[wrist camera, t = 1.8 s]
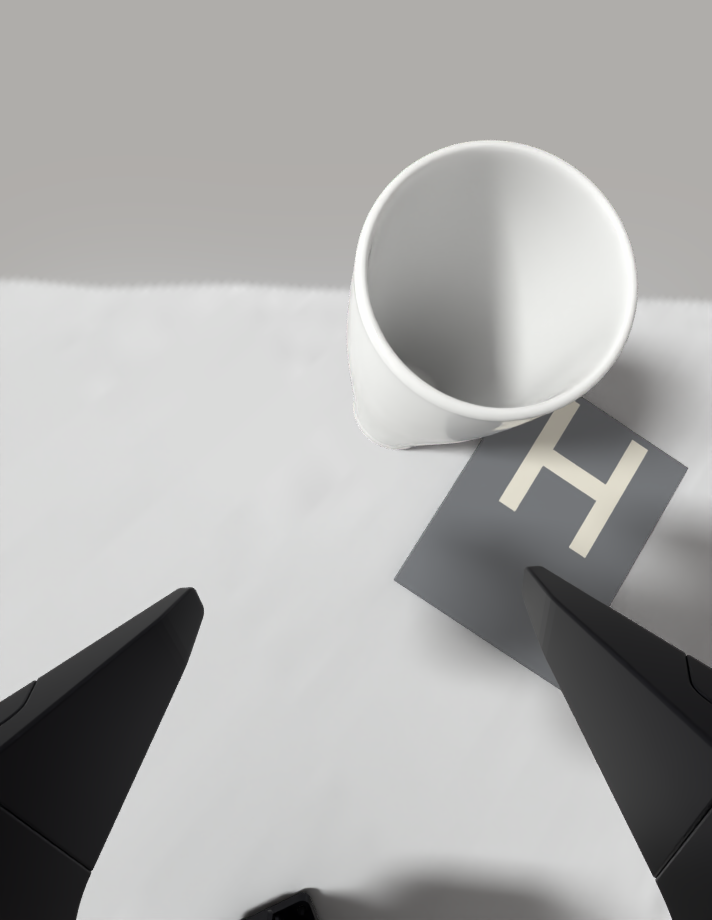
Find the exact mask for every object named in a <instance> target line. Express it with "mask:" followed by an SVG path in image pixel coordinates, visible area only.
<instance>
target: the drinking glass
mask: <svg viewBox="0 0 712 920" xmlns="http://www.w3.org/2000/svg"><path fill="white" fill-rule="evenodd" d="M637 292H638V278H637V268H636V261H635V257H634V253H633V249H632V245H631V242H630V239H629V237H628V234H627V231H626V229H625V227H624V225H623V223H622V221H621V219H620V217H619V215H618V214H617V212H616V210H615V209H614V207H613V206H612V204H611V203H610V202H609V200H608V199H607V198H606V196H605V195H604V194H603V193H602V192H601V190H600V189H599V188H598V187H597V186H596V185H595V184H594V183H593V182H592V181H591V180H590V179H589V178H588V177H586V176H585V175H584V174H583V173H582V172H580V171H579V170H578V169H576V168H575V167H573V166H572V165H571V164H569V163H567V162H566V161H564V160H562V159H560V158H559V157H557V156H555V155H553V154H551V153H548V152H546V151H544V150H541V149H538V148H535V147H533V146H529V145H525V144H521V143H517V142H510V141H502V140H477V141H470V142H463V143H459V144H455V145H451V146H447V147H445V148H442V149H439V150H436V151H434V152H432V153H430V154H428V155H426V156H424V157H422V158H421V159H419V160H417V161H416V162H414V163H412V164H411V165H410V166H408V167H407V168H406V169H404V170H403V171H402V172H401V173H400V174H399V175H398V176H397V177H395V178H394V179H393V180H392V181H391V183H390V184H389V185H388V186H387V187H386V188H385V189H384V191H383V192H382V193H381V195H380V196H379V198H378V199H377V200H376V202H375V203H374V205H373V207H372V209H371V211H370V212H369V214H368V216H367V219H366V221H365V223H364V226H363V228H362V231H361V234H360V238H359V241H358V246H357V251H356V256H355V264H354V269H353V274H352V280H351V286H350V293H349V302H348V311H347V327H346V342H347V357H348V365H349V372H350V378H351V384H352V390H353V412H354V417H355V420H356V423H357V425H358V427H359V428H360V430H361V431H362V433H363V434H364V435H365V436H366V437H367V438H368V439H369V440H370V441H372V442H373V443H375V444H377V445H379V446H381V447H384V448H387V449H393V450H402V449H408V448H411V447H414V446H424V445H439V444H450V443H459V442H465V441H470V440H475V439H480V438H484V437H487V436H491V435H494V434H497V433H500V432H503V431H507V430H509V429H512V428H515V427H517V426H520V425H522V424H525V423H527V422H530V421H532V420H534V419H537V418H539V417H541V416H544V415H546V414H549V413H551V412H554V411H556V410H558V409H561V408H563V407H565V406H566V405H568V404H570V403H572V402H574V401H575V400H577V399H578V398H580V397H581V396H583V395H584V394H585V393H587V392H588V391H589V390H590V389H591V388H593V387H594V386H595V385H596V384H597V383H598V382H599V381H600V380H601V379H602V378H603V377H604V376H605V375H606V373H607V372H608V371H609V370H610V368H611V367H612V366H613V364H614V363H615V361H616V360H617V358H618V357H619V355H620V353H621V352H622V350H623V348H624V345H625V343H626V341H627V339H628V336H629V334H630V331H631V328H632V325H633V321H634V317H635V312H636V306H637V295H638V293H637Z"/></svg>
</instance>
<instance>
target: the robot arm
mask: <svg viewBox="0 0 712 920" xmlns="http://www.w3.org/2000/svg"><path fill="white" fill-rule="evenodd" d="M522 596H523V600H524V603H525V605H526V608H527V611H528V614H529V617H530V619H531V622H532V625H533V628H534V631H535V633H536V636H537V639H538V642H539V644H540V647H541V650H542V652H543V654H544V656H545V658H546V660H547V662H548V664H549V666H550V668H551V671H552V673H553V675H554V677H555V679H556V681H557V683H558V685H559V687H560V689H561V691H562V693H563V695H564V697H565V699H566V701H567V703H568V705H569V707H570V709H571V711H572V713H573V715H574V717H575V719H576V721H577V723H578V725H579V727H580V729H581V731H582V733H583V735H584V737H585V739H586V741H587V743H588V745H589V747H590V749H591V751H592V753H593V756H594V758H595V760H596V762H597V764H598V766H599V768H600V770H601V772H602V774H603V776H604V778H605V780H606V782H607V784H608V786H609V788H610V790H611V792H612V794H613V796H614V798H615V800H616V802H617V804H618V806H619V808H620V810H621V812H622V814H623V816H624V818H625V820H626V822H627V824H628V826H629V828H630V830H631V832H632V834H633V836H634V838H635V841H636V843H637V845H638V847H639V849H640V851H641V853H642V855H643V857H644V859H645V861H646V863H647V865H648V867H649V869H650V871H651V873H652V875H653V877H655V878H656V883H657V885H658V887H659V889H660V892H661V894H662V896H663V898H664V901H665V903H666V905H667V908H668V910H669V913H670V915H671V918H672V920H712V668H710V667H708V666H707V665H705V664H703V663H702V662H700V661H699V660H697V659H695V658H694V657H692V656H690V655H687V656H686V654H685V653H684V652H683V651H681V650H679V649H678V648H676V647H674V646H673V645H671V644H669V643H668V642H666V641H664V640H663V639H661V638H660V637H658V636H656V635H655V634H653V633H651V632H650V631H648V630H646V629H645V628H643V627H641V626H640V625H638V624H637V623H635V622H633V621H632V620H630V619H628V618H627V617H625V616H623V615H622V614H620V613H618V612H617V611H615V610H613V609H612V608H610V607H609V606H607V605H605V604H604V603H602V602H600V601H599V600H597V599H595V598H594V597H592V596H590V595H589V594H587V593H586V592H584V591H582V590H581V589H579V588H577V587H576V586H574V585H572V584H571V583H569V582H567V581H566V580H564V579H562V578H561V577H559V576H558V575H556V574H554V573H553V572H551V571H549V570H548V569H546V568H544V567H542V566H527V567H526V568H525V569H524V575H523V583H522ZM203 615H204V607H203V605H202V603H201V600H200V598H199V596H198V594H197V592H196V590H195V589H194V588H192V587H188V588H179V589H177V590H175V591H174V592H172V593H171V594H169V595H168V596H166V597H165V598H163V599H161V600H160V601H158V602H157V603H155V604H154V605H152V606H151V607H149V608H147V609H146V610H144V611H143V612H141V613H140V614H138V615H136V616H135V617H133V618H132V619H130V620H129V621H127V622H126V623H124V624H122V625H121V626H119V627H118V628H116V629H115V630H113V631H112V632H110V633H108V634H107V635H105V636H104V637H102V638H101V639H99V640H97V641H96V642H94V643H93V644H91V645H90V646H88V647H87V648H85V649H83V650H82V651H80V652H79V653H77V654H76V655H74V656H73V657H71V658H69V659H68V660H66V661H65V662H63V663H62V664H60V665H58V666H57V667H55V668H54V669H52V670H51V671H49V672H48V673H46V674H44V675H43V676H41V677H40V678H38V680H37V681H33V682H31V683H29V684H28V685H26V686H25V687H23V688H22V689H20V690H19V691H17V692H15V693H14V694H12V695H11V696H9V697H7V698H6V699H4V700H3V701H1V702H0V920H76V918H77V913H78V909H79V905H80V901H81V898H82V895H83V892H84V890H85V887H86V884H87V882H88V879H89V877H90V875H91V871H92V870H93V868H94V866H95V864H96V862H97V860H98V858H99V855H100V853H101V851H102V849H103V847H104V844H105V842H106V840H107V838H108V836H109V834H110V831H111V829H112V827H113V825H114V823H115V820H116V818H117V816H118V814H119V812H120V810H121V807H122V805H123V803H124V801H125V799H126V796H127V794H128V792H129V790H130V788H131V786H132V783H133V781H134V779H135V777H136V775H137V773H138V770H139V768H140V766H141V764H142V762H143V759H144V757H145V755H146V753H147V751H148V749H149V746H150V744H151V742H152V740H153V738H154V735H155V733H156V731H157V729H158V727H159V725H160V722H161V720H162V718H163V716H164V714H165V711H166V709H167V707H168V705H169V703H170V701H171V698H172V696H173V694H174V692H175V690H176V687H177V685H178V683H179V681H180V679H181V677H182V674H183V672H184V670H185V667H186V665H187V663H188V660H189V657H190V654H191V651H192V648H193V646H194V643H195V640H196V637H197V634H198V631H199V628H200V625H201V622H202V619H203ZM301 905H303V906H304V907H300V906H301ZM245 920H319V919H318V916H317V913H316V911H315V908H314V905H313V903H312V900H311V898H310V896H309V895H308V894H307V893H299V894H297V895H295V896H293V897H291V898H289V899H287V900H285V901H282V902H280V903H278V904H276V905H274V906H272V907H270V908H268V909H266V910H264V911H262V912H260V913H257V914H255V915H253V916H251V917H249V918H247V919H245Z"/></svg>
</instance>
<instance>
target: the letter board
mask: <svg viewBox="0 0 712 920" xmlns="http://www.w3.org/2000/svg"><path fill="white" fill-rule="evenodd" d="M687 469H688V468H687V467H686V466H684V465H683V464H681V463H680V462H678V461H677V460H675V459H674V458H672V457H671V456H669V455H668V454H666V453H665V452H663V451H662V450H660V449H659V448H657V447H656V446H654V445H653V444H651V443H650V442H648V441H647V440H645V439H644V438H642V437H641V436H639V435H638V434H636V433H635V432H633V431H632V430H630V429H629V428H627V427H626V426H624V425H623V424H621V423H620V422H618V421H617V420H615V419H614V418H612V417H611V416H609V415H608V414H607V413H605V412H604V411H602V410H601V409H599V408H598V407H596V406H595V405H593V404H592V403H590V402H589V401H587V400H586V399H584V398H583V397H580V398H578V399H577V400H575V401H574V402H572V403H570V404H568V405H566V406H565V407H563V408H561V409H558V410H556V411H554V412H551V413H549V414H546V415H544V416H541V417H539V418H537V419H534V420H532V421H530V422H527V423H525V424H522V425H520V426H517V427H515V428H512V429H509V430H507V431H503V432H500V433H497V434H494V435H491V436H487V437H484V438H483V439H482V440H481V442H480V444H479V445H478V447H477V448H476V450H475V451H474V453H473V455H472V456H471V458H470V459H469V461H468V463H467V464H466V466H465V467H464V469H463V471H462V472H461V474H460V475H459V477H458V478H457V480H456V482H455V483H454V485H453V486H452V488H451V490H450V491H449V493H448V494H447V496H446V497H445V499H444V501H443V502H442V504H441V505H440V507H439V509H438V510H437V512H436V513H435V515H434V517H433V518H432V520H431V521H430V523H429V524H428V526H427V528H426V529H425V531H424V532H423V534H422V536H421V537H420V539H419V540H418V542H417V543H416V545H415V547H414V548H413V550H412V551H411V553H410V555H409V556H408V558H407V559H406V561H405V563H404V564H403V566H402V567H401V569H400V570H399V572H398V574H397V575H396V577H395V578H394V580H395V581H396V582H397V583H399V584H400V585H402V586H403V587H405V588H407V589H408V590H410V591H411V592H413V593H414V594H416V595H417V596H419V597H420V598H422V599H423V600H425V601H426V602H428V603H429V604H431V605H432V606H434V607H435V608H437V609H438V610H440V611H441V612H443V613H444V614H446V615H448V616H449V617H451V618H452V619H454V620H455V621H457V622H458V623H460V624H461V625H463V626H464V627H466V628H467V629H469V630H470V631H472V632H473V633H475V634H476V635H478V636H479V637H481V638H482V639H484V640H485V641H487V642H489V643H490V644H492V645H493V646H495V647H496V648H498V649H499V650H501V651H502V652H504V653H505V654H507V655H508V656H510V657H511V658H513V659H514V660H516V661H517V662H519V663H520V664H522V665H523V666H525V667H526V668H528V669H530V670H531V671H533V672H534V673H536V674H537V675H539V676H540V677H542V678H543V679H545V680H546V681H548V682H549V683H551V684H552V685H554V686H555V687H557V688H558V689H560V687H559V685H558V683H557V681H556V679H555V677H554V675H553V673H552V671H551V668H550V666H549V664H548V662H547V660H546V658H545V656H544V654H543V652H542V650H541V647H540V644H539V642H538V639H537V636H536V633H535V631H534V628H533V625H532V622H531V619H530V617H529V614H528V611H527V608H526V605H525V603H524V600H523V596H522V583H523V575H524V569H525V568H526V567H527V566H542V567H544V568H546V569H548V570H549V571H551V572H553V573H554V574H556V575H558V576H559V577H561V578H562V579H564V580H566V581H567V582H569V583H571V584H572V585H574V586H576V587H577V588H579V589H581V590H582V591H584V592H586V593H587V594H589V595H590V596H592V597H594V598H595V599H597V600H599V601H600V602H602V603H604V604H605V605H607V606H610V604H611V602H612V600H613V599H614V597H615V595H616V593H617V592H618V590H619V588H620V586H621V585H622V583H623V581H624V579H625V578H626V576H627V574H628V572H629V571H630V569H631V567H632V565H633V564H634V562H635V560H636V558H637V557H638V555H639V553H640V551H641V550H642V548H643V546H644V544H645V543H646V541H647V539H648V537H649V536H650V534H651V532H652V530H653V529H654V527H655V525H656V523H657V522H658V520H659V518H660V516H661V515H662V513H663V511H664V509H665V508H666V506H667V504H668V502H669V501H670V499H671V497H672V495H673V494H674V492H675V490H676V488H677V487H678V485H679V483H680V481H681V480H682V478H683V476H684V474H685V473H686V471H687ZM560 690H561V689H560Z"/></svg>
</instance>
